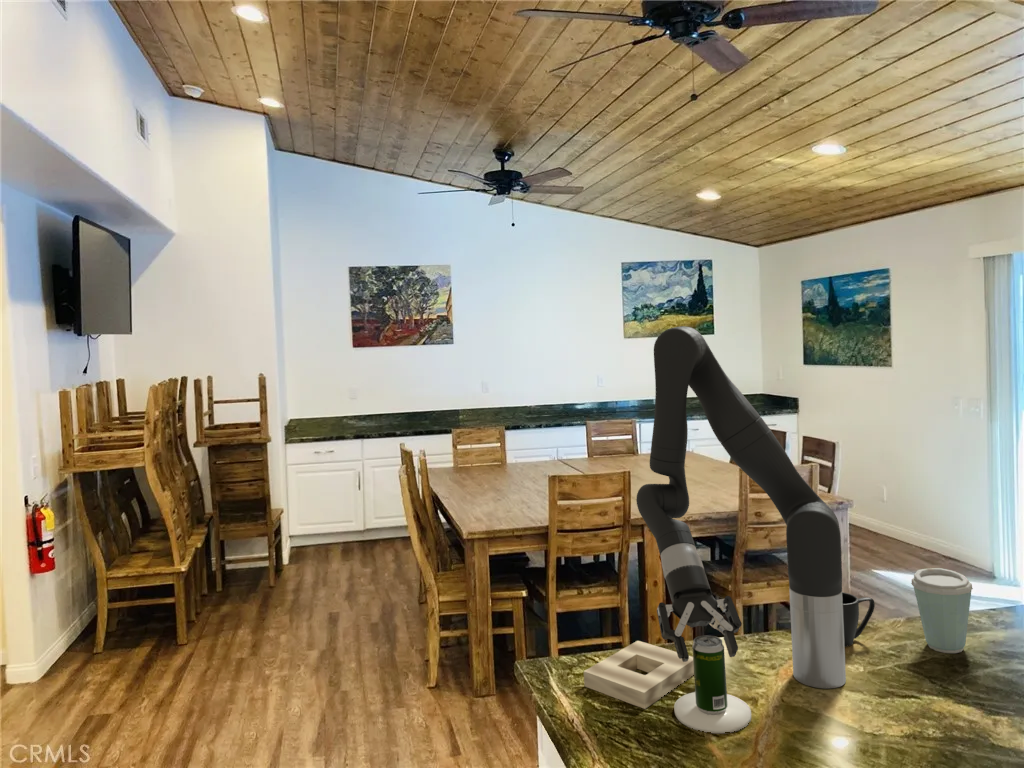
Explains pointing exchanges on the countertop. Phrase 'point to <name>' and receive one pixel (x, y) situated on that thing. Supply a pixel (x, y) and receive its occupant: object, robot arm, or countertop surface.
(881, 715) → the countertop surface
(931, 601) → the disposable coffee cup
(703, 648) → the beer can
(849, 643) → the mug
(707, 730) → the white round disc
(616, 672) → the beige rectangular frame
